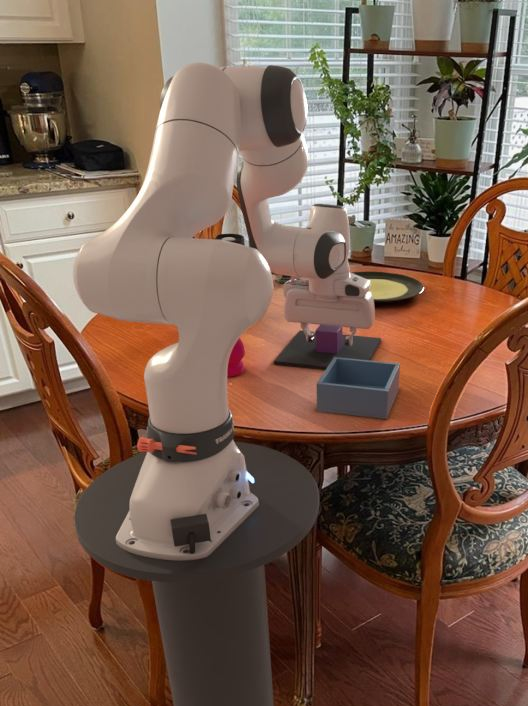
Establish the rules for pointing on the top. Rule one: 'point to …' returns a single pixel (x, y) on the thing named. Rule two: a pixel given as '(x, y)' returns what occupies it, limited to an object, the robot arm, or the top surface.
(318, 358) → the plate
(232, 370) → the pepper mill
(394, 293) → the plate
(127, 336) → the top surface
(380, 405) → the basket
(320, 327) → the block
